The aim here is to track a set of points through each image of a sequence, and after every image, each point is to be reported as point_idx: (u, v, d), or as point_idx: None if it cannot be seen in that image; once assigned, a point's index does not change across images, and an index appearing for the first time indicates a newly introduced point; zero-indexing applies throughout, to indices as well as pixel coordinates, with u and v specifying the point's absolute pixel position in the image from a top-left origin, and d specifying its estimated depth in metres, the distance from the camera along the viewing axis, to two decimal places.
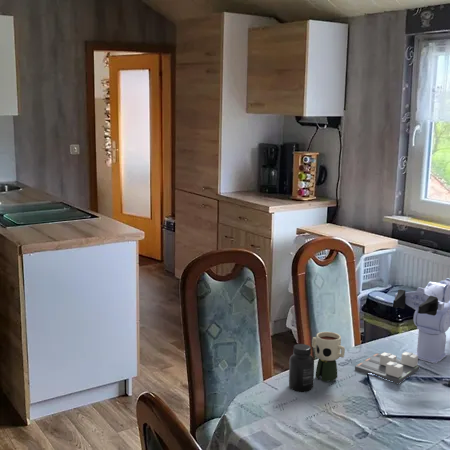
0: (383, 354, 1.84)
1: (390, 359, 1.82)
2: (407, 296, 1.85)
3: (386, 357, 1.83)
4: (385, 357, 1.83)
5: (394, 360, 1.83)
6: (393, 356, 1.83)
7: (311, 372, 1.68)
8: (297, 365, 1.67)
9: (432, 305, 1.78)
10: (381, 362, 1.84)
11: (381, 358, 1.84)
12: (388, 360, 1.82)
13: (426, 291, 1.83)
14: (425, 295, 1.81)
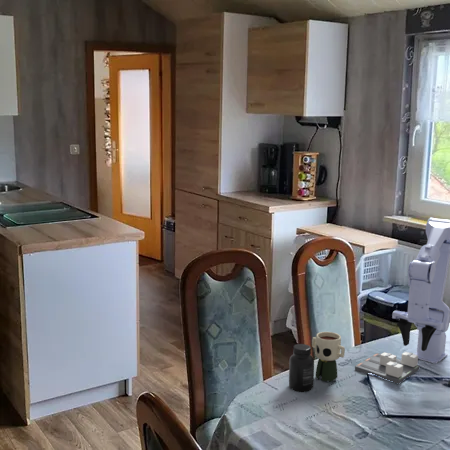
0: (383, 354, 1.84)
1: (390, 359, 1.82)
2: None
3: (386, 357, 1.83)
4: (385, 357, 1.83)
5: (394, 360, 1.83)
6: (393, 356, 1.83)
7: (311, 372, 1.68)
8: (297, 365, 1.67)
9: None
10: (381, 362, 1.84)
11: (381, 358, 1.84)
12: (388, 360, 1.82)
13: (417, 313, 1.73)
14: None
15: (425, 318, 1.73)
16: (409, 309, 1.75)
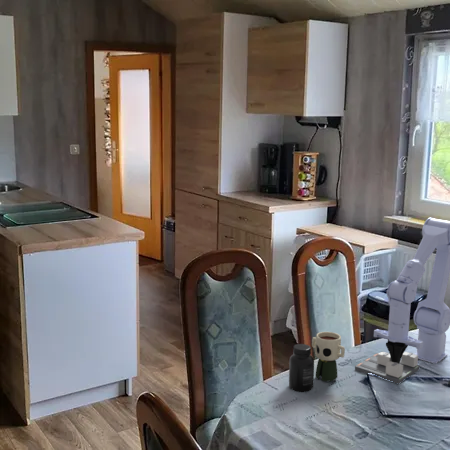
0: (381, 353, 1.85)
1: (387, 358, 1.82)
2: None
3: (384, 356, 1.83)
4: (383, 356, 1.83)
5: None
6: None
7: (311, 372, 1.68)
8: (297, 365, 1.67)
9: None
10: (379, 361, 1.85)
11: (378, 357, 1.84)
12: (386, 359, 1.83)
13: (397, 333, 1.78)
14: None
15: (405, 337, 1.78)
16: (389, 328, 1.80)
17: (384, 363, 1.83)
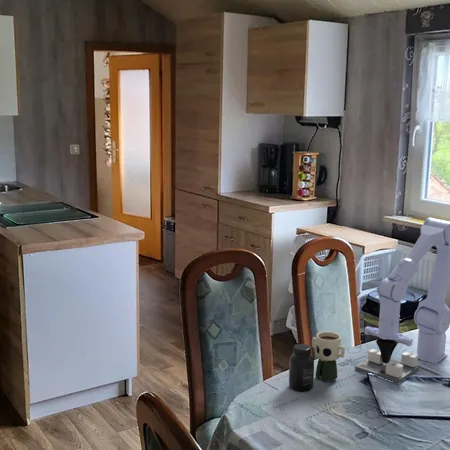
0: (371, 350, 1.87)
1: (378, 355, 1.84)
2: None
3: (374, 353, 1.85)
4: (373, 353, 1.85)
5: None
6: None
7: (311, 372, 1.68)
8: (297, 365, 1.67)
9: None
10: (369, 358, 1.87)
11: (369, 354, 1.86)
12: (376, 356, 1.85)
13: (387, 330, 1.80)
14: None
15: (395, 334, 1.80)
16: (380, 326, 1.82)
17: (374, 360, 1.85)
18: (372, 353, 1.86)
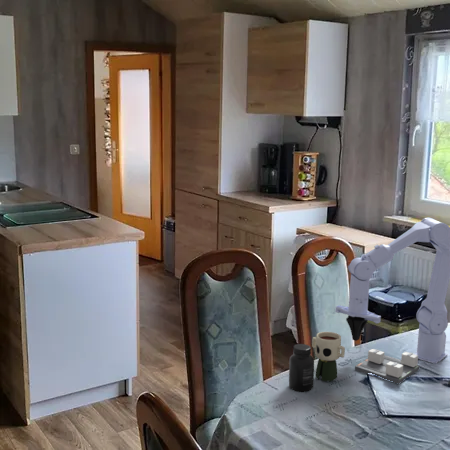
0: (371, 350, 1.87)
1: (378, 355, 1.84)
2: None
3: (374, 353, 1.85)
4: (373, 353, 1.85)
5: (382, 356, 1.85)
6: (381, 352, 1.85)
7: (311, 372, 1.68)
8: (297, 365, 1.67)
9: None
10: (369, 358, 1.87)
11: (369, 354, 1.86)
12: (376, 356, 1.85)
13: (356, 308, 1.86)
14: None
15: (364, 312, 1.86)
16: (349, 304, 1.88)
17: (374, 360, 1.85)
18: (372, 353, 1.86)
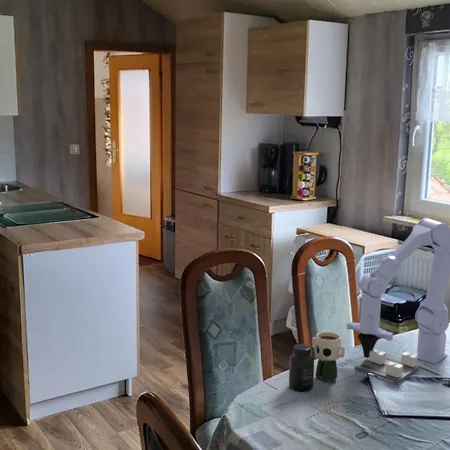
0: (373, 351, 1.86)
1: (379, 355, 1.84)
2: None
3: (375, 354, 1.85)
4: (374, 354, 1.85)
5: (383, 357, 1.85)
6: (382, 353, 1.85)
7: (311, 372, 1.68)
8: (297, 365, 1.67)
9: None
10: (371, 359, 1.86)
11: (370, 355, 1.86)
12: (377, 357, 1.85)
13: (368, 325, 1.84)
14: None
15: (376, 329, 1.84)
16: (361, 321, 1.86)
17: (376, 360, 1.85)
18: (373, 353, 1.85)
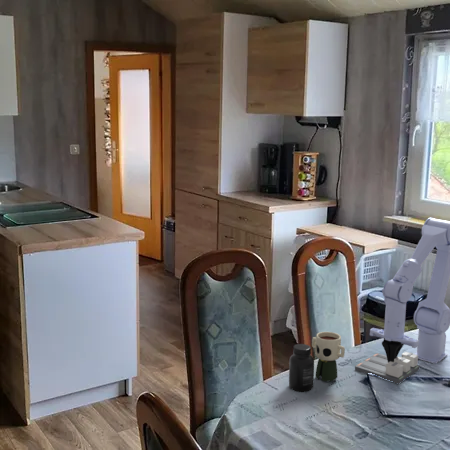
0: (397, 358, 1.81)
1: (404, 363, 1.79)
2: None
3: (400, 361, 1.80)
4: (399, 361, 1.80)
5: (408, 364, 1.80)
6: (407, 360, 1.80)
7: (311, 372, 1.68)
8: (297, 365, 1.67)
9: None
10: None
11: None
12: (402, 364, 1.79)
13: (392, 332, 1.79)
14: None
15: (401, 336, 1.79)
16: (385, 327, 1.80)
17: None
18: (398, 361, 1.80)
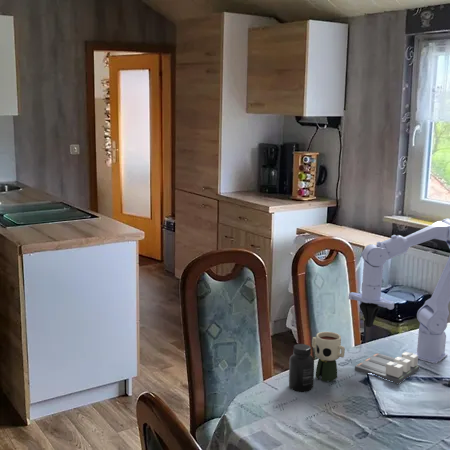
0: (397, 358, 1.81)
1: (404, 363, 1.79)
2: None
3: (400, 361, 1.80)
4: (399, 361, 1.80)
5: (408, 364, 1.80)
6: (407, 360, 1.80)
7: (311, 372, 1.68)
8: (297, 365, 1.67)
9: None
10: None
11: None
12: (402, 364, 1.79)
13: (369, 294, 1.87)
14: None
15: (377, 298, 1.87)
16: (363, 290, 1.88)
17: None
18: (398, 361, 1.80)
